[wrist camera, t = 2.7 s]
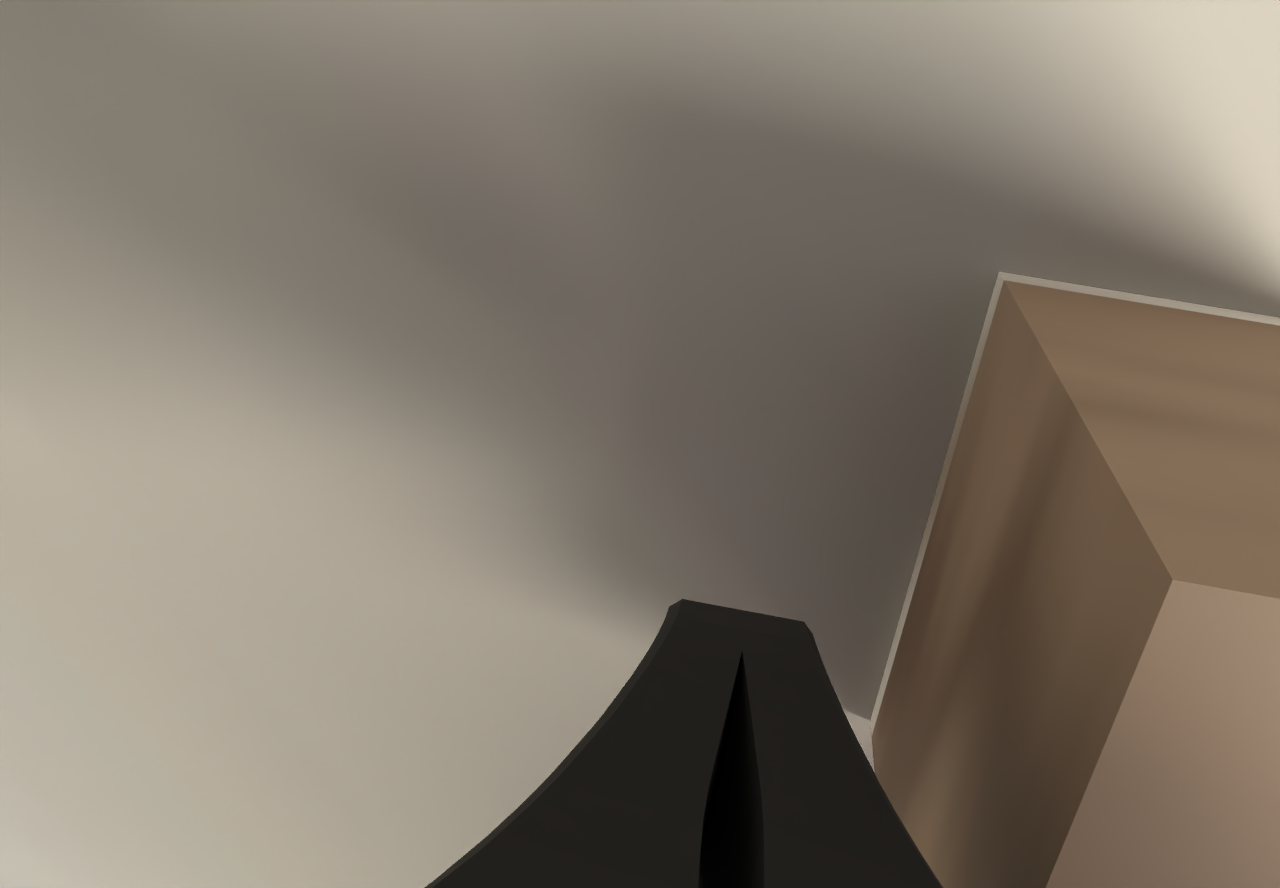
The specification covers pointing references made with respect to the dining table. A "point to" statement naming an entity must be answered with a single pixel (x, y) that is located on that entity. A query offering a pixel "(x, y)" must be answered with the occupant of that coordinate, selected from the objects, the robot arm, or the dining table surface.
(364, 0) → the dining table surface
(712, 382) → the dining table surface
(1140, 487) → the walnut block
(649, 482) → the dining table surface
